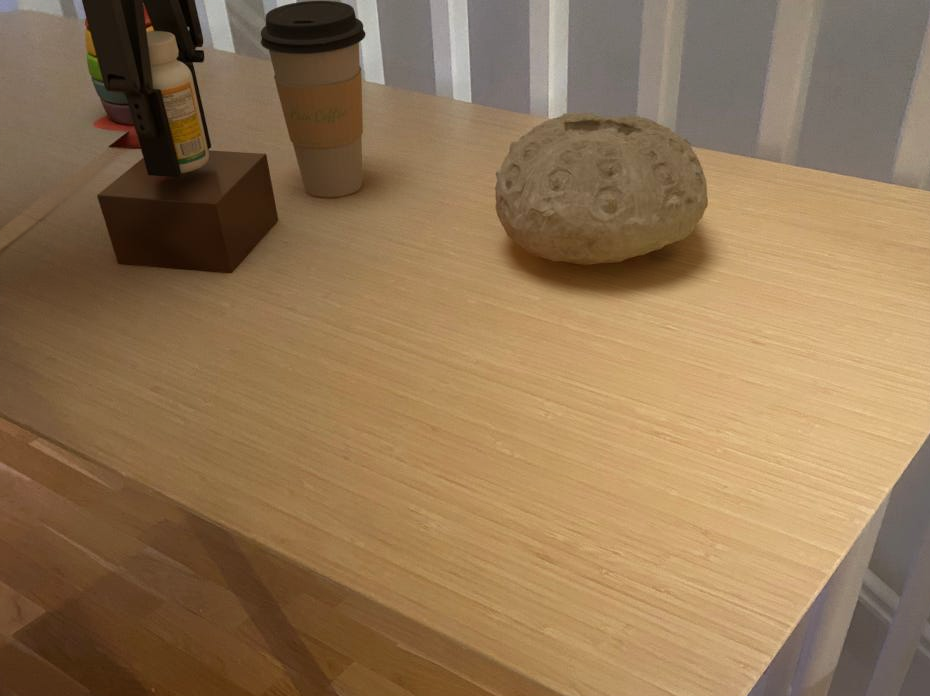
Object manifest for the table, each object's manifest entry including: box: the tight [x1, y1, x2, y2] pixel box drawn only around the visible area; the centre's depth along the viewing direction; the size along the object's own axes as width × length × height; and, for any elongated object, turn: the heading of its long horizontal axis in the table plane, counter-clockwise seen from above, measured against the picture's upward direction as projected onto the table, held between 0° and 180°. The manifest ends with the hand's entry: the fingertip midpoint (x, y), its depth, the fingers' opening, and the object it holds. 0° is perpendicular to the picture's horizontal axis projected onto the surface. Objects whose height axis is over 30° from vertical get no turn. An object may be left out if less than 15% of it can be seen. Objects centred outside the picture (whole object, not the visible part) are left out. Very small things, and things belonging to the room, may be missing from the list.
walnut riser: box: [96, 149, 279, 274], centre depth 88 cm, size 11×11×6 cm
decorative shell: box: [494, 112, 709, 266], centre depth 83 cm, size 18×18×10 cm
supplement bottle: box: [147, 31, 209, 173], centre depth 82 cm, size 5×5×10 cm
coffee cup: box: [260, 0, 366, 198], centre depth 93 cm, size 9×9×15 cm
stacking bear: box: [84, 3, 154, 149], centre depth 104 cm, size 11×10×18 cm
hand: (180, 160), depth 85 cm, fingers closed on supplement bottle, 5 cm apart
